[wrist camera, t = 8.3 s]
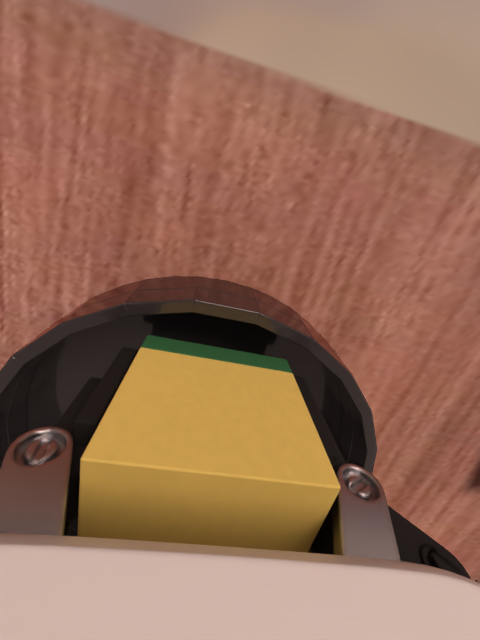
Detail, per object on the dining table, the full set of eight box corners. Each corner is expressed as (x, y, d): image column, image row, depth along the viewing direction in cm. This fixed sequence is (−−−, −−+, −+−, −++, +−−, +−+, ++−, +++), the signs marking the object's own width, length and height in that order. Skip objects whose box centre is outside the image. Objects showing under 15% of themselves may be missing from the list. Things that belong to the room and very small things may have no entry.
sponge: (147, 333, 11) (79, 459, 6) (286, 358, 11) (342, 487, 6) (136, 417, 12) (74, 579, 7) (261, 434, 13) (289, 590, 8)
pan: (14, 235, 12) (-61, 248, 9) (397, 316, 15) (447, 350, 11) (30, 516, 19) (-10, 583, 15) (292, 536, 21) (305, 596, 18)
